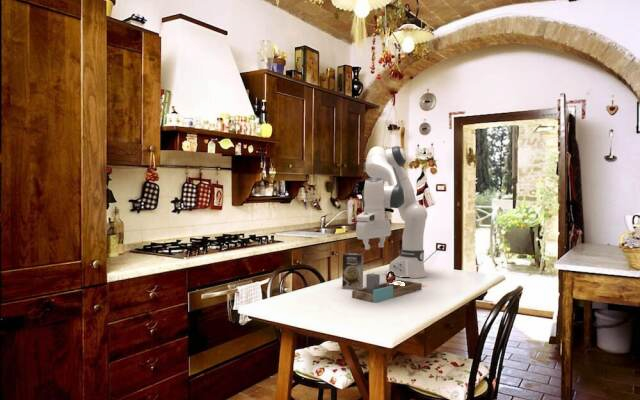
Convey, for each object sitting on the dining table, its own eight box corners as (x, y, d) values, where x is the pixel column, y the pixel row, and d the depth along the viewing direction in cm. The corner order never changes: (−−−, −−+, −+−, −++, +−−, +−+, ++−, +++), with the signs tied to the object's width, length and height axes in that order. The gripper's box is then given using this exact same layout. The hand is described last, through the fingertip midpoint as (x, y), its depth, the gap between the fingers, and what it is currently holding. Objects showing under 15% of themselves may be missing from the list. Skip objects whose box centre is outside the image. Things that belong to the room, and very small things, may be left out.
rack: (352, 297, 196) (352, 286, 196) (399, 285, 221) (399, 275, 221) (375, 302, 187) (375, 290, 187) (421, 289, 212) (421, 279, 212)
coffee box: (341, 288, 214) (342, 254, 214) (344, 285, 220) (344, 252, 220) (361, 289, 212) (361, 255, 211) (363, 286, 218) (363, 253, 218)
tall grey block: (366, 297, 196) (366, 274, 196) (372, 296, 199) (372, 273, 199) (373, 299, 193) (373, 275, 193) (379, 297, 196) (379, 274, 196)
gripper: (382, 214, 205) (382, 245, 205) (353, 216, 190) (353, 250, 190) (394, 215, 200) (394, 246, 201) (365, 217, 186) (365, 251, 186)
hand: (374, 248), depth 195 cm, fingers open, 8 cm apart
